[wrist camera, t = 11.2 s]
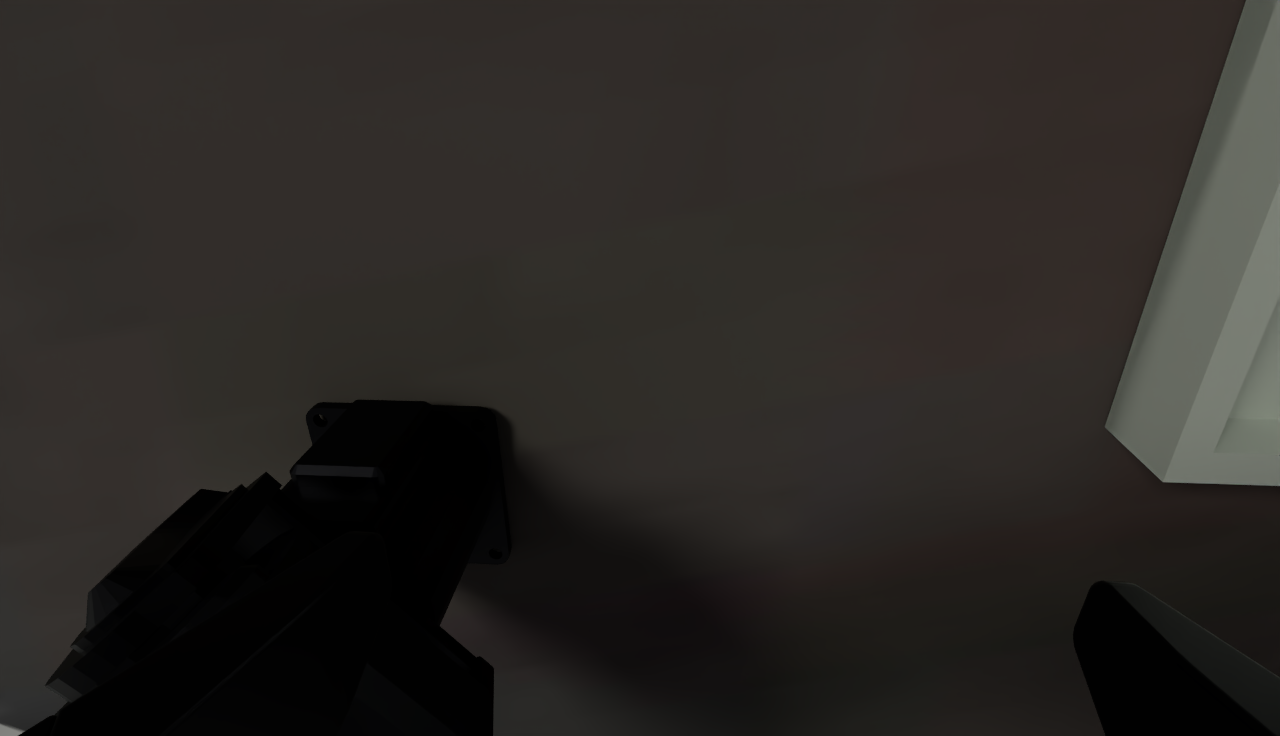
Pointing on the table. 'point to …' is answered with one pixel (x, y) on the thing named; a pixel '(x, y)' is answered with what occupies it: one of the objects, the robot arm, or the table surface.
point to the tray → (1217, 291)
